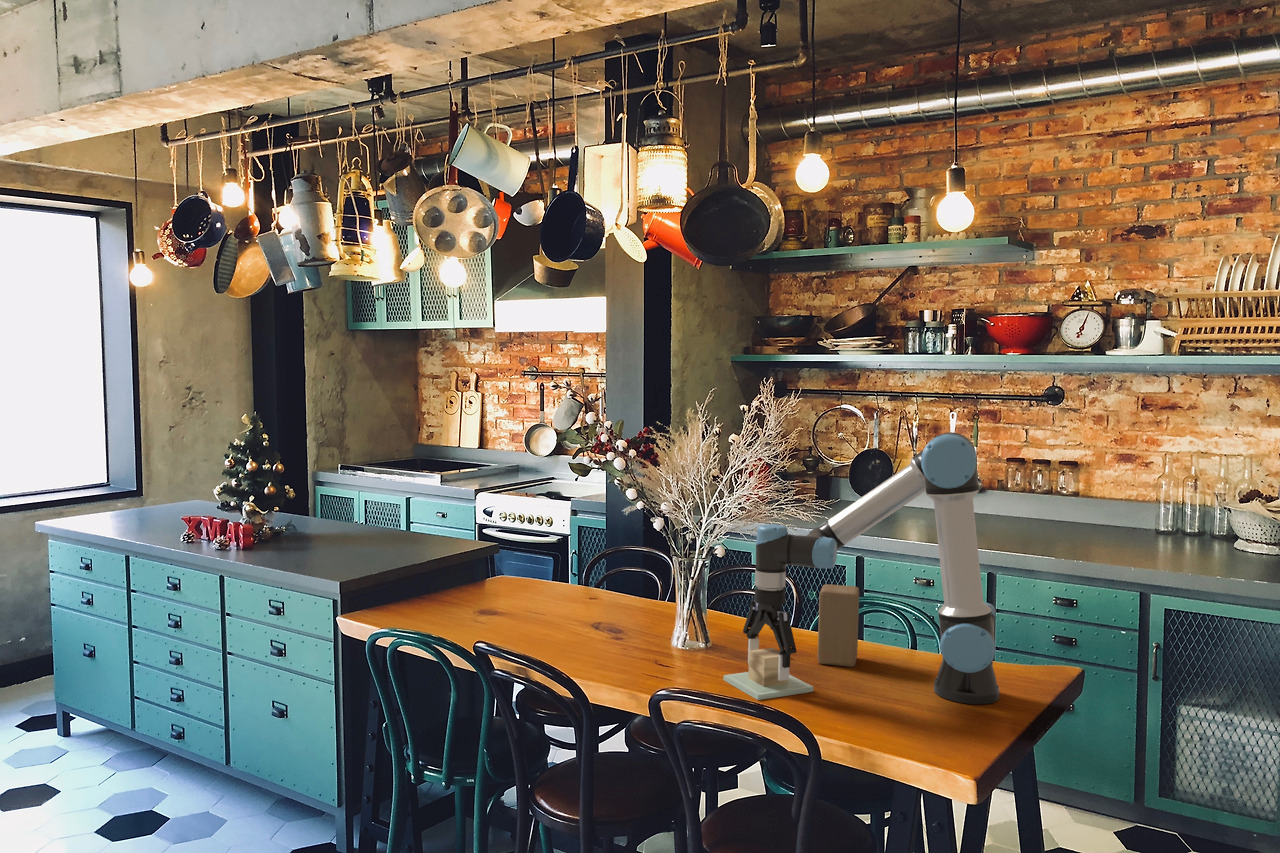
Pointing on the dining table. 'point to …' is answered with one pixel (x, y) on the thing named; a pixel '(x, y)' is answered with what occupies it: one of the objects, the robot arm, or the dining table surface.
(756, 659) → the oak cube
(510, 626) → the dining table surface
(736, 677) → the plate
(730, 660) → the dining table surface
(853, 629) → the wooden block
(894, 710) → the dining table surface
